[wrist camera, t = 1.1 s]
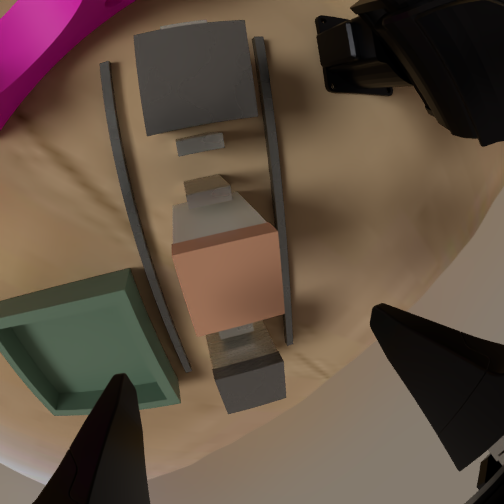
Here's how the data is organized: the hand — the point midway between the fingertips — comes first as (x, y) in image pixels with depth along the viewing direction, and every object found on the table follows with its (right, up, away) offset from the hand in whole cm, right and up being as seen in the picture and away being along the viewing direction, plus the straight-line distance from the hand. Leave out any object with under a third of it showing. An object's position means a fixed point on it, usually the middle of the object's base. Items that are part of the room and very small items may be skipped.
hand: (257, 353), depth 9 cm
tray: (-15, -5, +12) cm, 20 cm away
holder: (-3, +5, +11) cm, 12 cm away
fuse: (-3, +5, +11) cm, 12 cm away
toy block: (-15, +18, +2) cm, 24 cm away
